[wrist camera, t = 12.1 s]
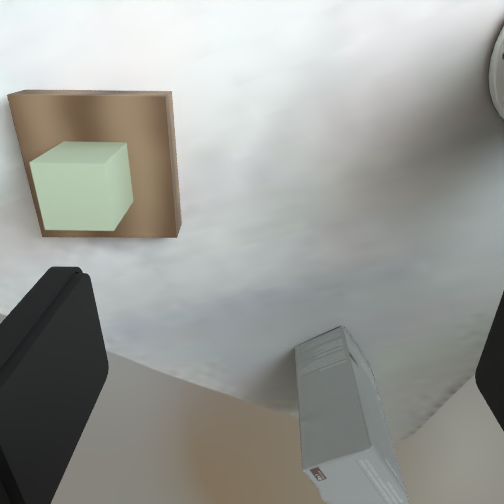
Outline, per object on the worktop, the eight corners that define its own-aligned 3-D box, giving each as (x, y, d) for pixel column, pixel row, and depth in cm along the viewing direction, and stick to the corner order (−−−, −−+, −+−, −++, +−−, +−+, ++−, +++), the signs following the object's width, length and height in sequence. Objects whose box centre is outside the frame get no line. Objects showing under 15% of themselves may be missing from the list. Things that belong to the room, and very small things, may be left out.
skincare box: (372, 369, 49) (422, 503, 35) (318, 392, 51) (345, 529, 37) (341, 320, 46) (383, 448, 32) (285, 346, 48) (300, 479, 34)
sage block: (126, 142, 34) (104, 163, 28) (133, 201, 36) (113, 230, 31) (63, 141, 33) (29, 162, 28) (74, 200, 36) (45, 229, 31)
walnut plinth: (171, 91, 35) (165, 96, 32) (181, 223, 40) (176, 237, 38) (25, 89, 34) (7, 94, 32) (56, 223, 40) (42, 236, 37)
